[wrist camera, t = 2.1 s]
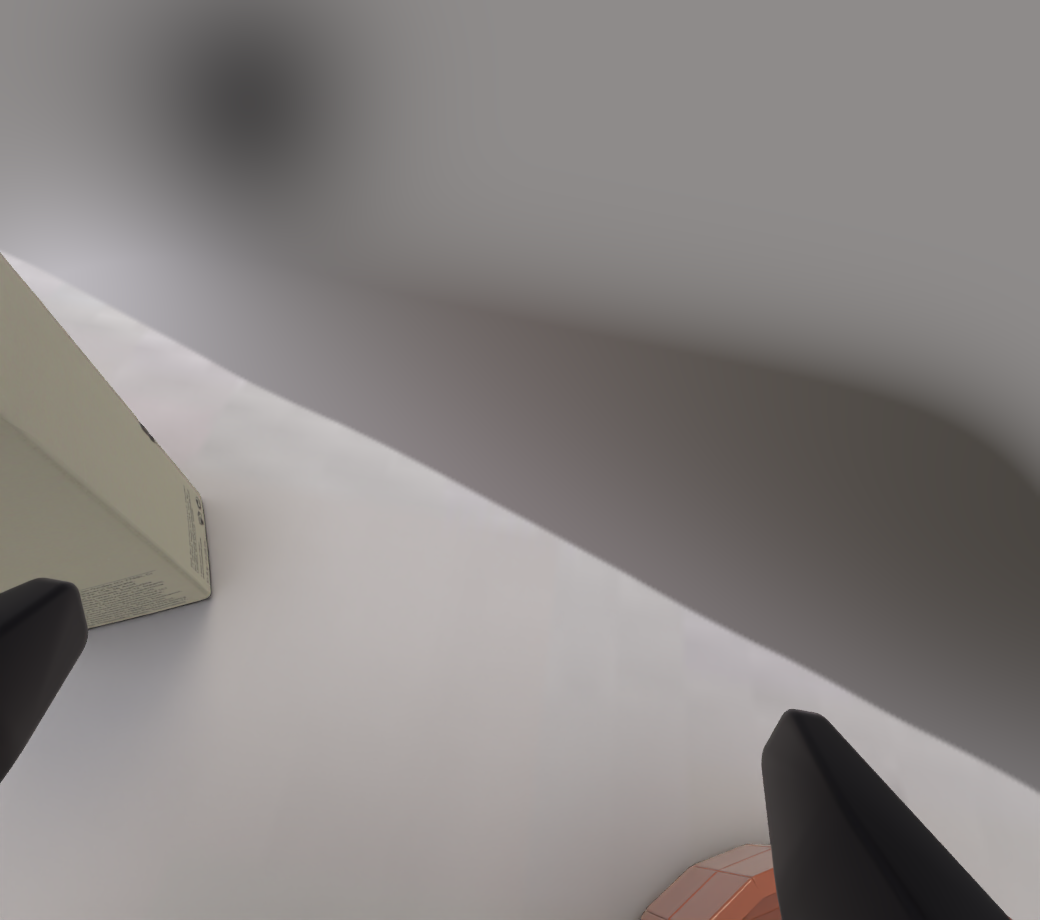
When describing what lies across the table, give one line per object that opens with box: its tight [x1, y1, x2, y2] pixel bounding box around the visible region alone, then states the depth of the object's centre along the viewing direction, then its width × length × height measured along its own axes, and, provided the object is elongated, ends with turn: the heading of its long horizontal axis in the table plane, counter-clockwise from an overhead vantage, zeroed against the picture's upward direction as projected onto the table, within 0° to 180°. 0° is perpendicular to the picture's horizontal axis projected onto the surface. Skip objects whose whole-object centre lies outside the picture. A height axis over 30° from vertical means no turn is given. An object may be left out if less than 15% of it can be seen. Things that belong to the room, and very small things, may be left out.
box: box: [0, 253, 211, 628], centre depth 17 cm, size 5×4×13 cm
